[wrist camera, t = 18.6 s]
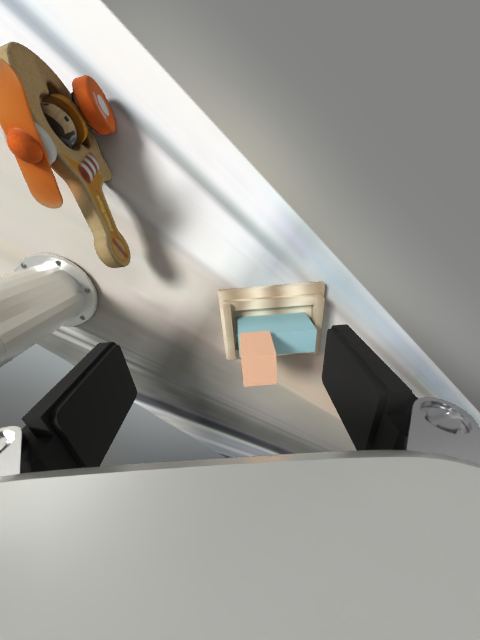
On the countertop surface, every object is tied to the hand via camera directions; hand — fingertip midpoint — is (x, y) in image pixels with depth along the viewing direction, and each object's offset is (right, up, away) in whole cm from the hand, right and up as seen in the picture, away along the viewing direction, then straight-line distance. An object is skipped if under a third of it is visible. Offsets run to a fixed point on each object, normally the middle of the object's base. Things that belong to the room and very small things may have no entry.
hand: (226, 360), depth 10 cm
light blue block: (+6, +1, +30) cm, 31 cm away
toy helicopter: (-18, +22, +21) cm, 35 cm away
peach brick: (+3, -2, +24) cm, 24 cm away
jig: (+6, +2, +31) cm, 32 cm away
